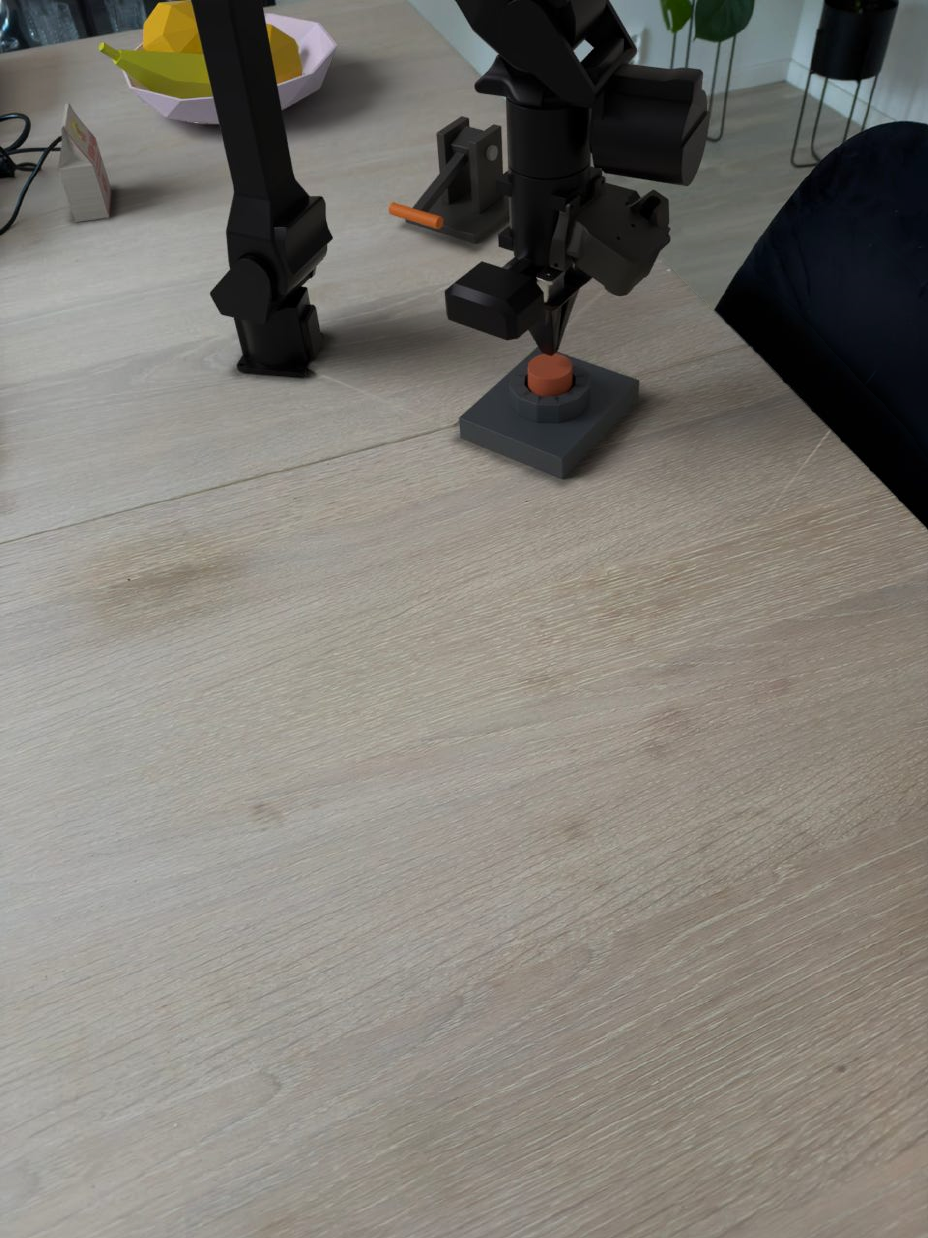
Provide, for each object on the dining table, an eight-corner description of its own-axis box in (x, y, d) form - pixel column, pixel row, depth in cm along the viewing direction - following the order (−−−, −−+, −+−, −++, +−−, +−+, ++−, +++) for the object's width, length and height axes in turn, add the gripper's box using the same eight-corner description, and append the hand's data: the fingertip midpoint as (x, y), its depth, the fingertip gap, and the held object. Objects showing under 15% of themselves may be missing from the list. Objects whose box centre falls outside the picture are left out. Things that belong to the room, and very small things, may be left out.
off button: (556, 402, 87) (556, 384, 86) (519, 388, 89) (518, 370, 88) (580, 379, 89) (581, 361, 88) (543, 365, 91) (543, 347, 89)
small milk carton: (75, 221, 120) (44, 130, 113) (79, 193, 125) (49, 104, 117) (109, 217, 120) (80, 126, 113) (111, 188, 125) (83, 99, 118)
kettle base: (475, 247, 111) (470, 163, 105) (405, 226, 115) (397, 143, 109) (539, 197, 117) (539, 114, 111) (471, 178, 121) (467, 97, 115)
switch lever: (439, 236, 108) (433, 217, 106) (392, 221, 111) (385, 202, 108) (503, 153, 111) (499, 133, 109) (456, 140, 114) (450, 121, 112)
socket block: (562, 480, 86) (562, 440, 84) (460, 438, 91) (457, 399, 88) (638, 401, 93) (641, 361, 90) (539, 365, 97) (538, 326, 94)
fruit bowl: (308, 45, 150) (293, -48, 142) (365, 121, 133) (353, 21, 124) (104, 86, 145) (77, -7, 136) (137, 172, 127) (107, 71, 119)
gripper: (576, 251, 67) (573, 450, 79) (718, 131, 77) (696, 324, 88) (432, 207, 72) (448, 401, 83) (582, 99, 81) (578, 287, 93)
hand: (549, 352), depth 87 cm, fingers closed
